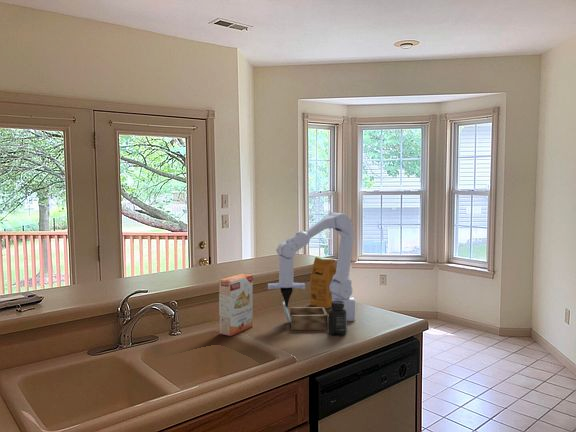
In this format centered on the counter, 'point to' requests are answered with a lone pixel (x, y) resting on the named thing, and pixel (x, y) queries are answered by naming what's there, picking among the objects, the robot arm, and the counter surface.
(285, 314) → the panel
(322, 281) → the coffee package
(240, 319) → the cracker box
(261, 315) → the counter surface
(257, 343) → the counter surface
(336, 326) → the supplement bottle
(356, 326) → the counter surface
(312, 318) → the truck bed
